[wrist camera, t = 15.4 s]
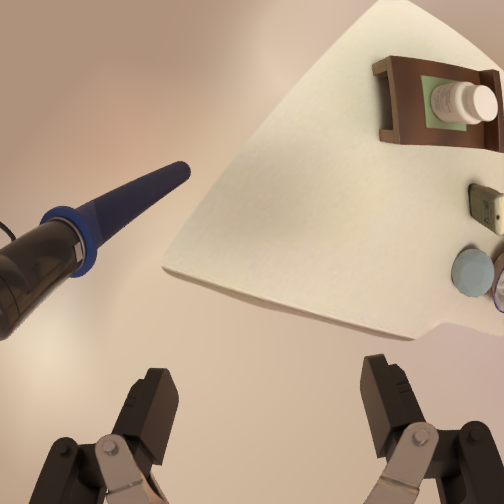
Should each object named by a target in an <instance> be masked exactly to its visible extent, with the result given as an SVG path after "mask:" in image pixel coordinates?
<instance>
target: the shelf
mask: <svg viewBox="0 0 504 504" xmlns="http://www.w3.org/2000/svg"><path fill="white" fill-rule="evenodd" d="M372 67H373V74H374V76H385V77H388V80H389V88H390V97H391V107H392V118H393V130H379V131H380V141H382V142H388V143H394V144H400V145H434V146H453V147H467V148H479V149H487V150H491V151H495V152H500V153H504V110H503V99H502V90H501V82H500V75H499V71H496V70H493V69H491V70H484V71H476V70H472V69H468V68H463V67H459V66H454V65H450V64H445V63H439V62H434V61H428V60H422V59H415V58H408V57H399V56H388V57H386V58H385V59H383V60H381V61H379V62H377V63H375V64H373V65H372ZM458 82H470V83H472V84H474V85H484V86H486V87H488V88H489V89H490V90H491V91H492V92H493V93H494V95H495V97H496V100H497V104H498V111H497V115H496V117H495V118H494V119H493V120H492V121H481V122H479V123H477V124H462V123H447V122H444V121H442V120H440V119H439V118H438V117H437V116H436V114H435V113H434V111H433V109H432V106H431V94H432V92H433V90H434V89H435V88H436V87H437V86H440V85H445V84H451V83H458Z"/></svg>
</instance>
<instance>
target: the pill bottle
mask: <svg viewBox="0 0 504 504" xmlns="http://www.w3.org/2000/svg"><path fill="white" fill-rule="evenodd" d="M431 106H432V109H433V111H434V113H435V114H436V116H437V117H438V118H439V119H440V120H442V121H444V122H447V123H462V124H477V123H479V122H481V121H492V120H493V119H494V118H495V117H496V115H497V111H498V104H497V100H496V97H495V95H494V93H493V92H492V91H491V90H490V89H489V88H488V87H486V86H484V85H474V84H472V83H470V82H458V83H451V84H445V85H440V86H437V87H436V88H435V89H434V90H433V92H432V94H431Z"/></svg>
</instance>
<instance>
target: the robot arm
mask: <svg viewBox="0 0 504 504" xmlns="http://www.w3.org/2000/svg"><path fill="white" fill-rule="evenodd" d="M0 228H1V229H2V230H4V231H5V232H6V233H7V234H8V236H9V237H10V238H11V240H12V242H11V243H10V244H8V245H6V246H5V247H3V248H2V249H0V341H2V340H5V339H7V338H8V337H9V336H11V334H12V333H13V332H14V331H15V330H16V329H17V328H18V327H19V326H20V325H21V324H22V323H23V322H24V321H25V320H26V319H27V318H28V317H29V315H30V314H31V313H32V312H33V311H34V310H35V309H36V308H37V307H38V306H39V305H40V304H41V303H42V302H43V301H44V300H46V298H48V297H49V296H50V295H51V294H52V293H53V292H54V291H55V290H56V289H57V288H58V287H59V286H60V285H61V284H62V283H63V282H64V281H65V280H67V279H68V278H69V277H70V276H71V275H72V274H73V273H74V272H76V271H77V270H79V269H80V268H81V267H82V266H83V264H84V263H85V260H86V256H87V246H86V241H85V238H84V236H83V234H82V232H81V230H80V229H79V227H78V226H77V225H76V224H75V223H74V222H73V221H72V220H70V219H68V218H66V217H63V216H55V217H53V218H51V219H49V220H47V221H46V222H45V223H43V224H41V225H40V226H38V227H36V228H34V229H33V230H31V231H29V232H27V233H26V234H24V235H22V236H21V237H19V238H18V239H16V237H15V236H14V234H13V233H12V232H11V231H10V230H9V229H8V228H7V227H6V226H5V225H4V224H3V223H1V222H0ZM360 391H361V396H362V400H363V404H364V407H365V411H366V415H367V419H368V422H369V426H370V430H371V434H372V438H373V442H374V446H375V450H376V454H377V458H381V457H386V461H387V465H386V467H385V469H384V470H383V472H382V474H381V476H380V478H379V480H378V481H377V483H376V484H375V486H374V488H373V489H372V491H371V492H370V494H369V496H368V497H367V499H366V500H365V502H364V503H363V504H414V502H415V501H416V498H417V496H418V494H419V487H420V484H421V482H422V480H423V479H431V478H435V479H436V483H437V488H438V492H439V497H440V502H441V504H504V466H503V464H502V461H501V458H500V455H499V452H498V450H497V447H496V444H495V442H494V440H493V437H492V435H491V432H490V430H489V428H488V427H487V426H486V425H485V424H484V423H482V422H480V421H471V422H468V423H466V424H465V425H464V426H463V427H462V428H461V430H438V429H436V428H435V427H434V426H433V425H431V424H429V423H427V422H426V421H425V419H424V416H423V414H422V412H421V409H420V407H419V405H418V402H417V400H416V397H415V395H414V392H413V391H412V388H411V385H410V384H409V381H408V379H407V377H406V374H405V372H404V371H403V370H402V369H401V368H400V367H399V366H398V365H397V364H392V365H388V363H387V361H386V358H385V356H384V355H383V354H378V355H371V356H365V357H364V362H363V368H362V374H361V380H360ZM178 403H179V396H178V391H177V389H176V387H175V384H174V382H173V380H172V377H171V375H170V372H169V370H168V369H165V368H149V369H148V371H147V374H146V376H145V378H144V379H139V380H138V381H137V382H136V383H135V384H134V385H133V386H132V387H131V389H130V391H129V393H128V396H127V398H126V400H125V402H124V406H123V407H122V409H121V412H120V414H119V416H118V419H117V421H116V423H115V426H114V428H113V431H112V433H111V434H109V435H105V436H103V437H102V438H100V439H99V441H98V442H97V443H95V444H82V445H78V444H77V443H76V442H75V441H74V440H73V439H72V438H69V437H63V438H60V439H58V440H57V441H55V442H54V443H53V445H52V447H51V449H50V451H49V454H48V456H47V458H46V461H45V463H44V466H43V468H42V470H41V473H40V475H39V478H38V481H37V483H36V486H35V488H34V491H33V494H32V496H31V499H30V502H29V504H103V502H104V498H105V495H106V500H107V502H108V504H169V502H168V501H167V499H166V497H165V496H164V494H163V492H162V490H161V489H160V487H159V485H158V483H157V481H156V480H155V478H154V476H153V474H152V473H151V467H152V464H155V465H162V462H163V458H164V454H165V450H166V447H167V443H168V439H169V435H170V432H171V429H172V425H173V421H174V418H175V414H176V411H177V407H178ZM107 488H108V493H106V491H107Z"/></svg>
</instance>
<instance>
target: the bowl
mask: <svg viewBox="0 0 504 504" xmlns="http://www.w3.org/2000/svg"><path fill="white" fill-rule="evenodd" d="M492 291H493V298H494V304H495V306H496V308H497V309H498V310H499V311H500V312H502V313H504V252H503V253H501V254H500V256H499V257H498V258H497V260H496V261H495V263H494V280H493V283H492Z"/></svg>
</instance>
